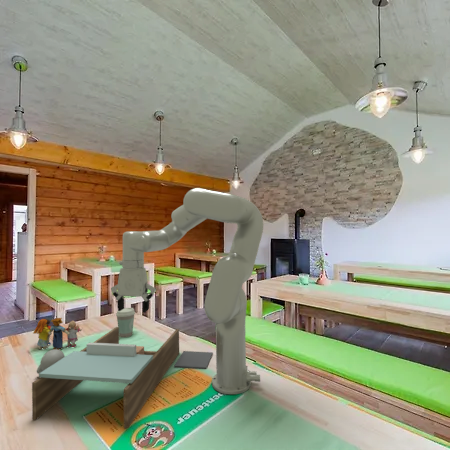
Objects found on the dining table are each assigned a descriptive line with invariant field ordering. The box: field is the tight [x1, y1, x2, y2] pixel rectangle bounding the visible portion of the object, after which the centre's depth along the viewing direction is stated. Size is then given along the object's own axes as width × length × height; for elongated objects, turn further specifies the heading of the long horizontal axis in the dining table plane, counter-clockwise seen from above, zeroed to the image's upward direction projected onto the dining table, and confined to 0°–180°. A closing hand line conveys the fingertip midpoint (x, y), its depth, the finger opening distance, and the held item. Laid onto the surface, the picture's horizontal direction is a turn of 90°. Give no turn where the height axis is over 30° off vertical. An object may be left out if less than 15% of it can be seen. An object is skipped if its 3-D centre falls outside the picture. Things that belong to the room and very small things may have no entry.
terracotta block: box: [136, 345, 145, 355], centre depth 102 cm, size 5×5×6 cm
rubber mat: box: [173, 350, 213, 370], centre depth 105 cm, size 12×12×1 cm
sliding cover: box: [38, 342, 153, 384], centre depth 81 cm, size 27×14×4 cm, turn 82°
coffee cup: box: [115, 307, 136, 338], centre depth 131 cm, size 8×8×12 cm
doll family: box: [32, 317, 82, 350], centre depth 118 cm, size 21×10×13 cm, turn 80°
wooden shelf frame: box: [31, 326, 180, 429], centre depth 92 cm, size 27×42×10 cm, turn 172°
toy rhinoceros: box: [36, 349, 66, 375], centre depth 95 cm, size 7×12×8 cm, turn 73°
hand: (133, 310), depth 102 cm, fingers open, 9 cm apart
